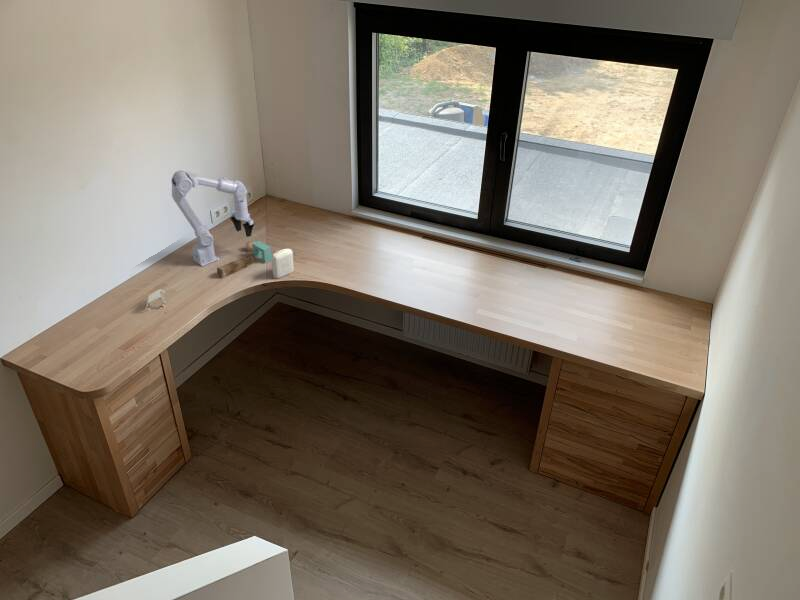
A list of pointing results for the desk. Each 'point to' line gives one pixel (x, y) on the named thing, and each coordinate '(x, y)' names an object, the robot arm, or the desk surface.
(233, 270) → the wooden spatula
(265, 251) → the teal angular block
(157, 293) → the origami figure
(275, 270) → the photo printer
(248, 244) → the bead
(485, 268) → the desk surface
